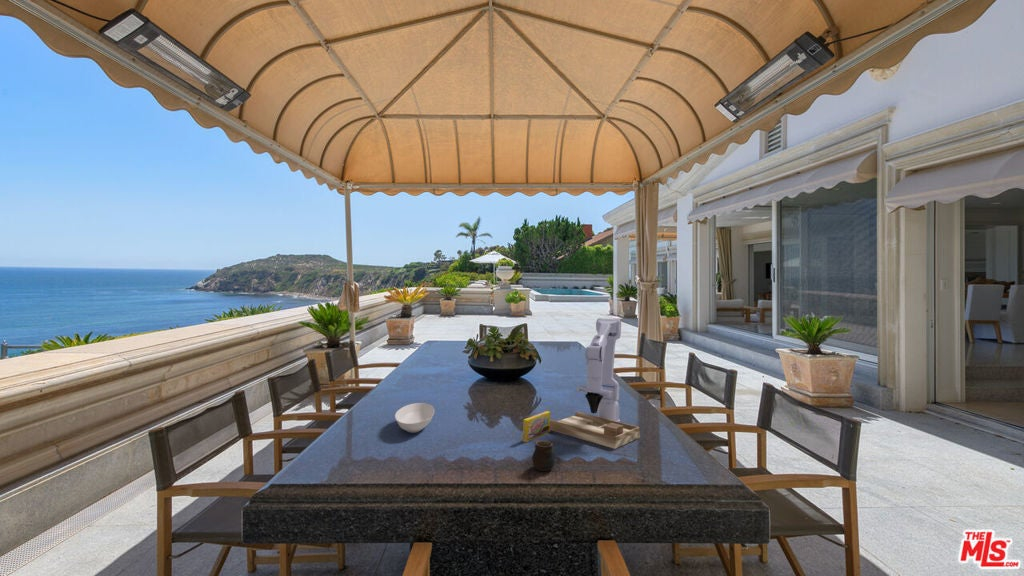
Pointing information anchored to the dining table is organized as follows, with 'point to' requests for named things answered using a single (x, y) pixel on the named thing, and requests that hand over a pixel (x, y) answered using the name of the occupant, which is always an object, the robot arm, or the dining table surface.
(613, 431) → the block
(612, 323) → the robot arm
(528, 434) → the candy box
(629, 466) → the dining table surface
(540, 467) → the mate gourd
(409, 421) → the bowl
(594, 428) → the box
